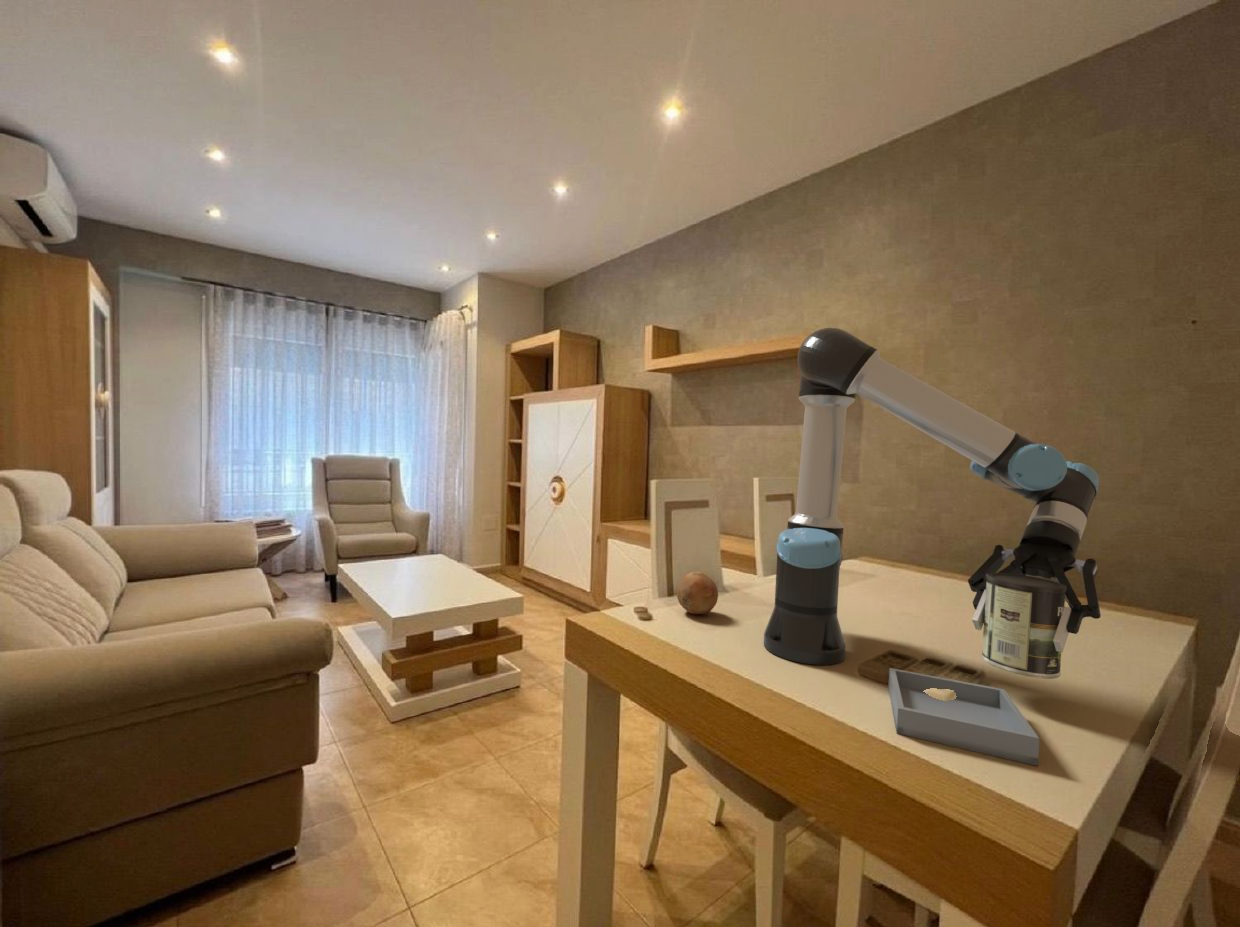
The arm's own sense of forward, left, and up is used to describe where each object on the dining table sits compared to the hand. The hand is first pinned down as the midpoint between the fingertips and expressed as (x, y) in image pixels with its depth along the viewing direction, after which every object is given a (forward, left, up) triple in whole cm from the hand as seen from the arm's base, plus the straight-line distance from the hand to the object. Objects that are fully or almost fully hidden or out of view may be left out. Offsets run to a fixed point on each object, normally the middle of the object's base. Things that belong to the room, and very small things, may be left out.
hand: (1014, 635), depth 81 cm
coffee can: (+1, +3, -6) cm, 6 cm away
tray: (-10, -12, -11) cm, 19 cm away
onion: (-57, +19, -11) cm, 61 cm away
